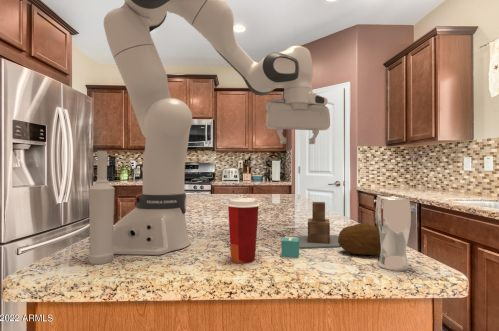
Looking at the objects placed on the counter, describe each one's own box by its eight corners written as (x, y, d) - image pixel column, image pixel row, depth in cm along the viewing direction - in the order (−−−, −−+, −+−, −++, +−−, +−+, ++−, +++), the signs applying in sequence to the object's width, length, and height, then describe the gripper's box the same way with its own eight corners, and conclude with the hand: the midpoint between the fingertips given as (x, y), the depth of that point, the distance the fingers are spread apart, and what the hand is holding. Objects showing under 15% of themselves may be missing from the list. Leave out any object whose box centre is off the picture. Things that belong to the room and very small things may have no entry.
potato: (335, 248, 78) (335, 219, 78) (383, 250, 77) (383, 220, 77) (341, 257, 70) (341, 225, 70) (395, 259, 69) (395, 227, 69)
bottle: (94, 257, 69) (95, 151, 69) (117, 257, 69) (118, 151, 69) (84, 265, 63) (85, 150, 64) (109, 264, 64) (110, 150, 64)
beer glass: (417, 272, 60) (417, 199, 60) (383, 271, 61) (383, 199, 61) (400, 261, 67) (400, 196, 67) (370, 261, 67) (370, 196, 68)
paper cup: (263, 256, 70) (263, 198, 71) (253, 266, 63) (253, 202, 63) (233, 253, 73) (233, 197, 73) (220, 262, 66) (220, 200, 66)
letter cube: (281, 257, 70) (281, 239, 70) (283, 252, 74) (283, 236, 74) (298, 258, 69) (298, 241, 69) (299, 253, 73) (299, 237, 73)
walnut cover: (307, 242, 82) (307, 203, 82) (308, 237, 88) (308, 201, 88) (329, 243, 81) (329, 204, 81) (328, 238, 87) (329, 201, 87)
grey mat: (299, 248, 77) (299, 247, 77) (286, 237, 89) (286, 236, 89) (355, 246, 80) (355, 245, 80) (336, 236, 92) (336, 235, 92)
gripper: (267, 96, 87) (267, 142, 87) (332, 99, 90) (332, 143, 90) (263, 100, 94) (263, 143, 94) (324, 103, 97) (324, 145, 97)
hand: (297, 143), depth 92 cm, fingers open, 8 cm apart
